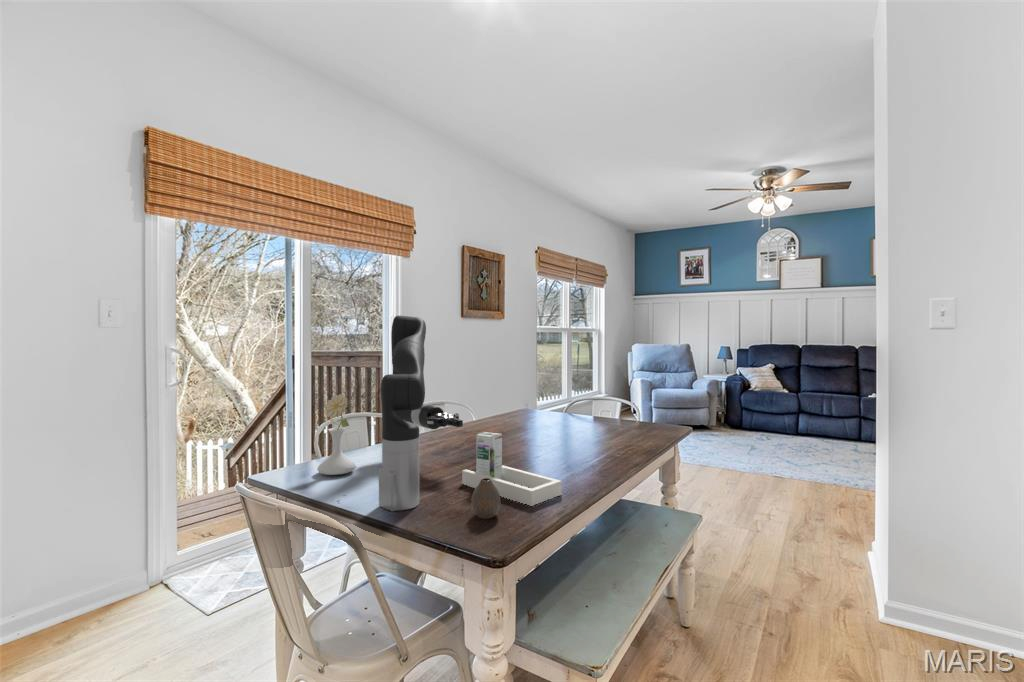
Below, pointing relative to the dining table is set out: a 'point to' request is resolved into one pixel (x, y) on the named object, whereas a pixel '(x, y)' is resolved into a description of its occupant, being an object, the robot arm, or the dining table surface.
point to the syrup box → (489, 454)
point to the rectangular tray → (518, 485)
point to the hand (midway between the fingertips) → (460, 423)
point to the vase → (486, 499)
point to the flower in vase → (336, 440)
